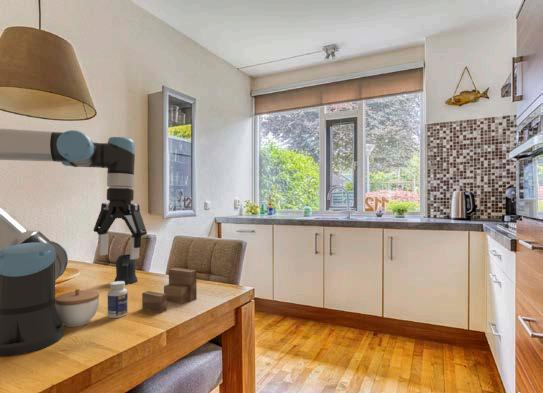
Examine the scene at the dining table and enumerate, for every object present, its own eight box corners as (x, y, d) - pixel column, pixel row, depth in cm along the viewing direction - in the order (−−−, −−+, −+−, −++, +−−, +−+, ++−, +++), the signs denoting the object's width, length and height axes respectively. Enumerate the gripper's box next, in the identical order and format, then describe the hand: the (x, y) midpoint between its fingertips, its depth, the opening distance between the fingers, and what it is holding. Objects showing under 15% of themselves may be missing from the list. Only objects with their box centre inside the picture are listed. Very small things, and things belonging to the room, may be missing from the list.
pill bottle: (119, 319, 92) (119, 285, 92) (103, 317, 93) (103, 284, 93) (131, 312, 97) (131, 280, 97) (116, 311, 98) (115, 280, 98)
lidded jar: (104, 322, 89) (104, 289, 89) (59, 334, 82) (59, 297, 82) (92, 313, 97) (92, 282, 97) (50, 323, 89) (50, 289, 89)
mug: (114, 280, 136) (114, 254, 136) (137, 278, 139) (137, 253, 139) (112, 287, 124) (112, 259, 125) (137, 285, 128) (137, 257, 128)
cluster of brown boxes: (162, 313, 96) (162, 280, 96) (140, 308, 101) (140, 276, 101) (196, 299, 110) (196, 270, 110) (175, 295, 114) (174, 267, 114)
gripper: (160, 188, 96) (158, 258, 96) (103, 188, 107) (101, 251, 106) (140, 187, 89) (138, 262, 89) (82, 187, 100) (80, 255, 99)
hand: (118, 256), depth 98 cm, fingers open, 13 cm apart
